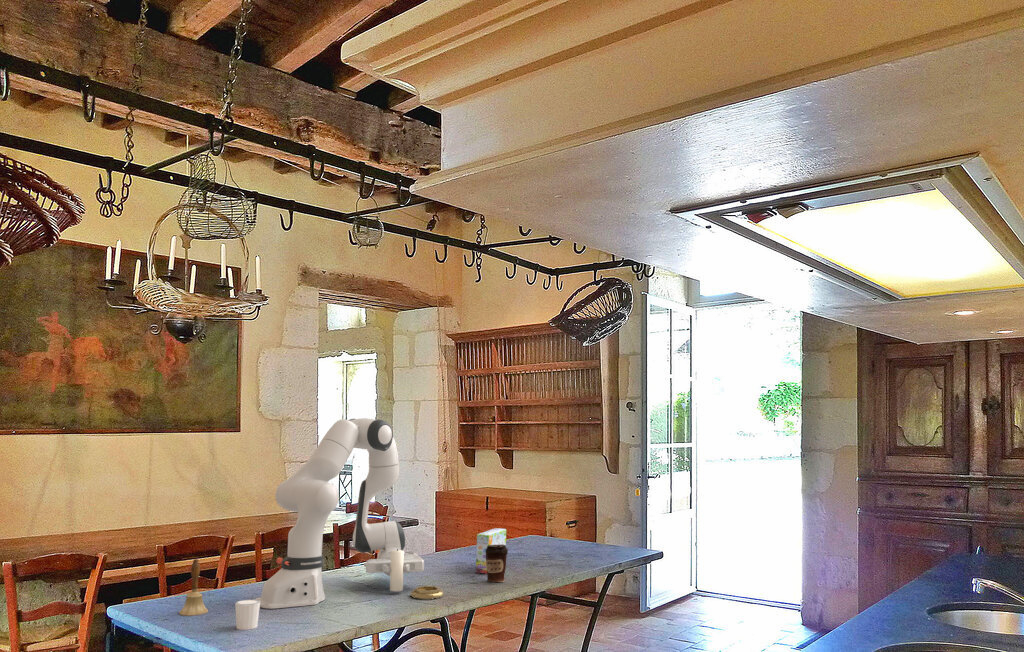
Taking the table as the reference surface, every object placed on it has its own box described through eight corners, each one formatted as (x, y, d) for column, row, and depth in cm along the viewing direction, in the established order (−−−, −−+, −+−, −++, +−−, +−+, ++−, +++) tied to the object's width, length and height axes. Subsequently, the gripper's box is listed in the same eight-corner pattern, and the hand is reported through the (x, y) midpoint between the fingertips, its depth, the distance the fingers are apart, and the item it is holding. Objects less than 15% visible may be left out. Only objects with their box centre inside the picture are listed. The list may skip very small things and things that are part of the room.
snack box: (488, 574, 310) (489, 534, 312) (475, 573, 312) (475, 534, 313) (506, 565, 330) (506, 528, 332) (493, 564, 332) (494, 527, 333)
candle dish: (421, 601, 263) (421, 593, 263) (404, 595, 271) (405, 587, 272) (449, 596, 269) (450, 589, 270) (432, 591, 278) (432, 584, 278)
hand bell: (207, 615, 243) (209, 560, 245) (177, 616, 240) (180, 562, 242) (209, 609, 251) (211, 556, 253) (180, 610, 248) (183, 557, 250)
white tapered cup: (228, 628, 226) (230, 603, 227) (245, 623, 233) (246, 598, 234) (248, 631, 224) (249, 605, 225) (264, 625, 230) (265, 600, 231)
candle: (393, 591, 271) (395, 550, 273) (387, 589, 275) (388, 548, 277) (405, 590, 274) (406, 548, 276) (398, 588, 277) (399, 547, 279)
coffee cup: (504, 584, 291) (505, 547, 293) (482, 583, 293) (482, 546, 294) (509, 579, 300) (509, 544, 301) (488, 578, 301) (488, 543, 303)
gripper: (363, 554, 285) (366, 560, 272) (420, 552, 291) (426, 558, 277) (362, 572, 285) (366, 579, 271) (420, 570, 290) (426, 577, 277)
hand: (397, 569), depth 274 cm, fingers closed on candle, 4 cm apart
